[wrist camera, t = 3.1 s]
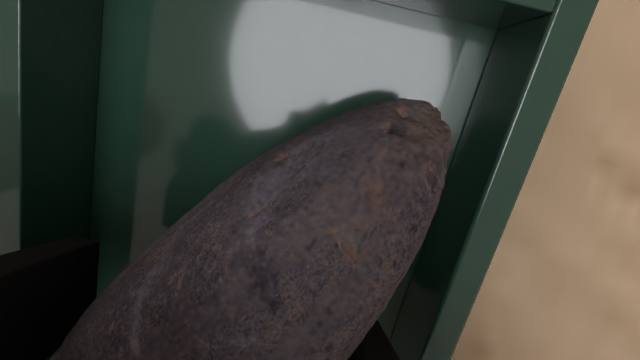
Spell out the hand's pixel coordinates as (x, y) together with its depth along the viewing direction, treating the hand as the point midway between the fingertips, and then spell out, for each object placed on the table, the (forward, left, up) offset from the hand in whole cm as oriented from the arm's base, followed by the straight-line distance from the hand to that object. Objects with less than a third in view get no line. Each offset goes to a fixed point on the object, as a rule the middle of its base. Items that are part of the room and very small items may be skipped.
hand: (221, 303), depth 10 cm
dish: (0, 0, -3) cm, 3 cm away
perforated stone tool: (0, 0, -3) cm, 3 cm away
